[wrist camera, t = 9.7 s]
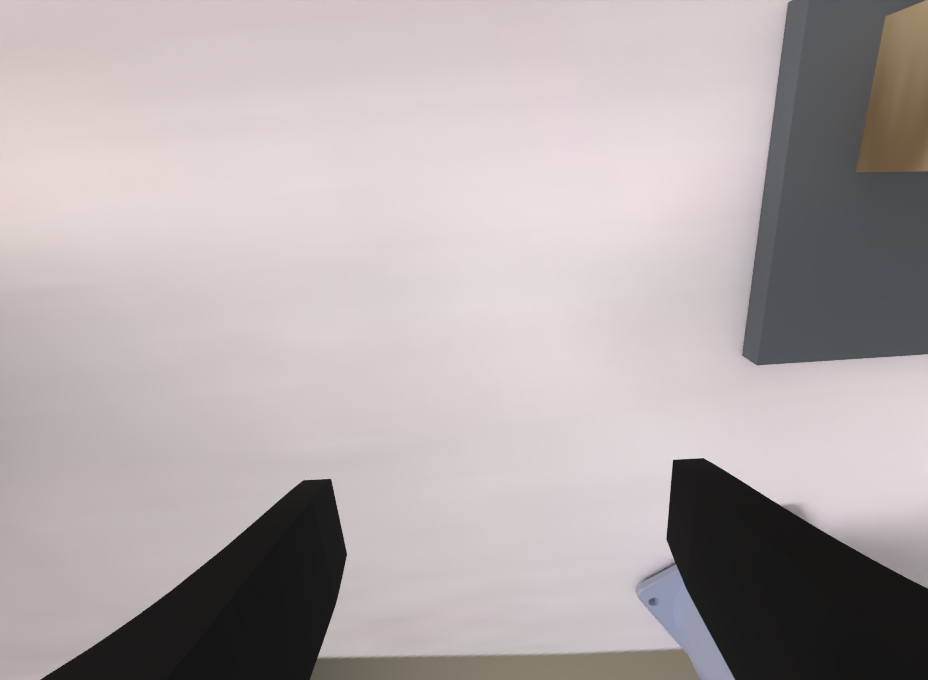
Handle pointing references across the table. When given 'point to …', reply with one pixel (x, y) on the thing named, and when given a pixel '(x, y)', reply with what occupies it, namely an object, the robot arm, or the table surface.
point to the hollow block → (899, 97)
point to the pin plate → (835, 205)
